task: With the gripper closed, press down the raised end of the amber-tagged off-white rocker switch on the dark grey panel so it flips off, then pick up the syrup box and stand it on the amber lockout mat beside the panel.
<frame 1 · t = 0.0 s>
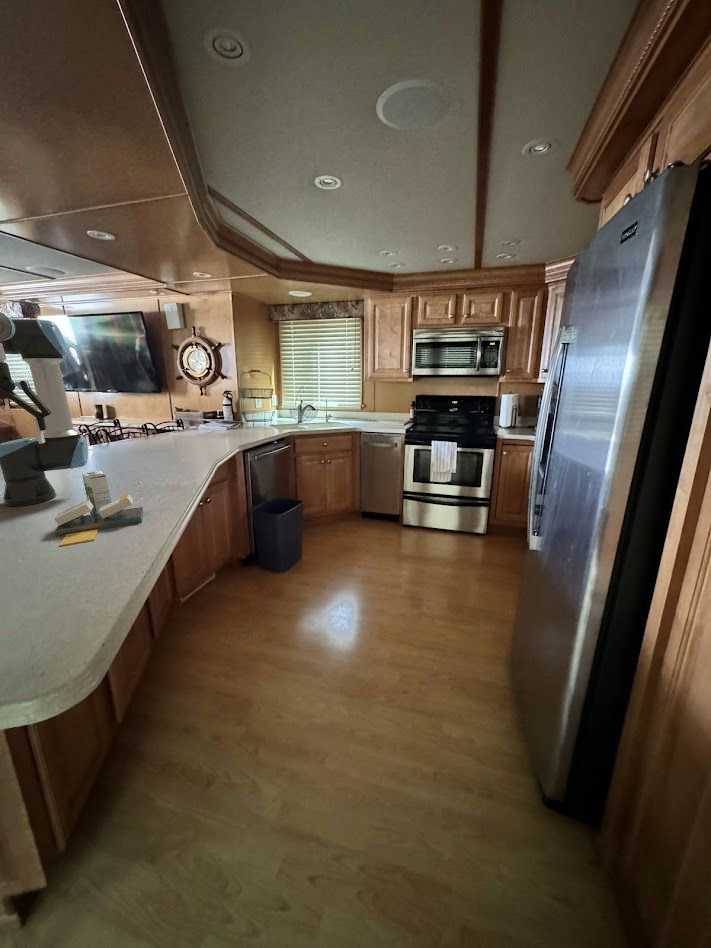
hand: (10, 445, 99), 28 cm above the countertop, fingers open, 13 cm apart
rocker B: (116, 505, 119), point 5 cm above the countertop, hinge at 20.0°
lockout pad: (80, 537, 109), on the countertop
syrup box: (102, 514, 127), on the countertop
rocker A: (74, 512, 115), point 5 cm above the countertop, hinge at 20.0°
breaker panel: (103, 523, 119), on the countertop
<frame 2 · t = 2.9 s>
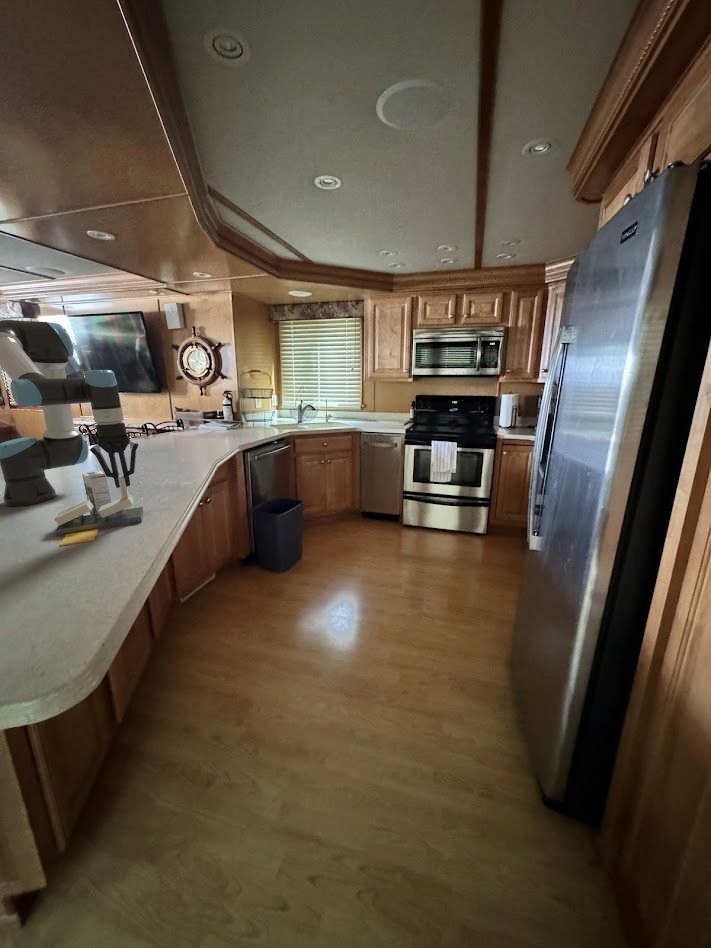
hand: (125, 496, 120), 8 cm above the countertop, fingers closed
rocker B: (116, 505, 119), point 5 cm above the countertop, hinge at 17.1°, touching gripper
everything else where it was.
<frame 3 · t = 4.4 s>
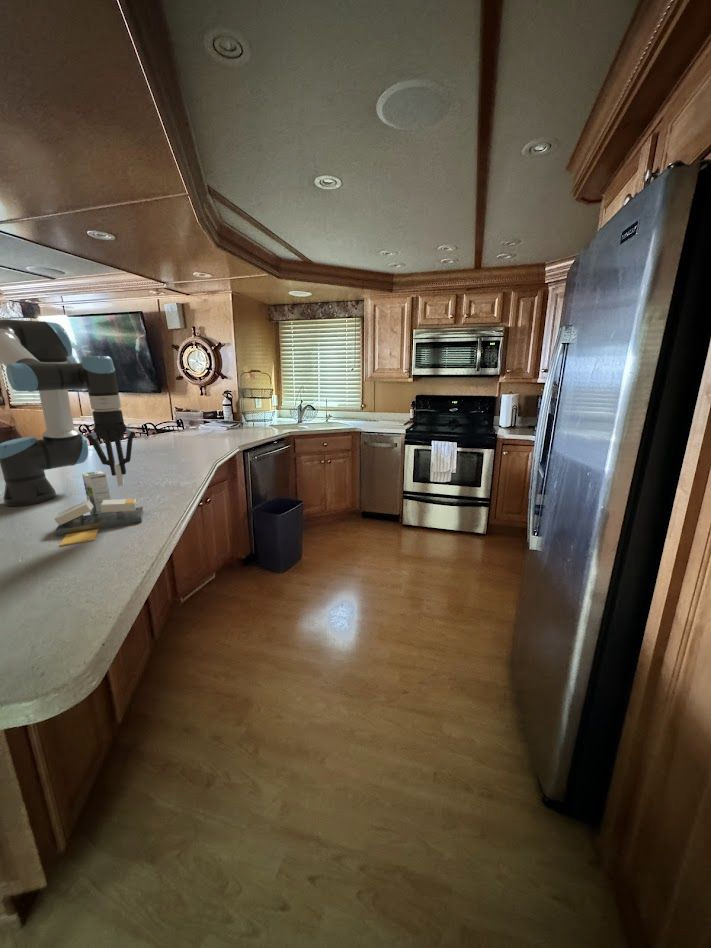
hand: (121, 484, 119), 12 cm above the countertop, fingers closed
rocker B: (119, 505, 120), point 5 cm above the countertop, hinge at -8.1°
everything else where it was.
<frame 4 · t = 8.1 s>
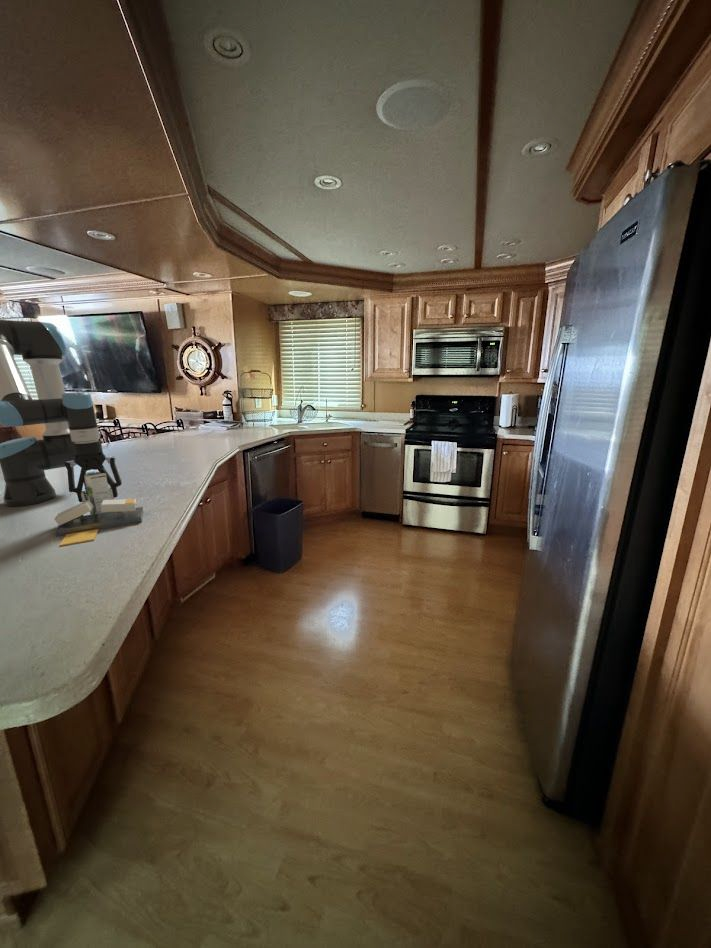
hand: (101, 508, 126), 2 cm above the countertop, fingers closed on syrup box, 7 cm apart
syrup box: (102, 514, 127), on the countertop, touching gripper
everything else where it was.
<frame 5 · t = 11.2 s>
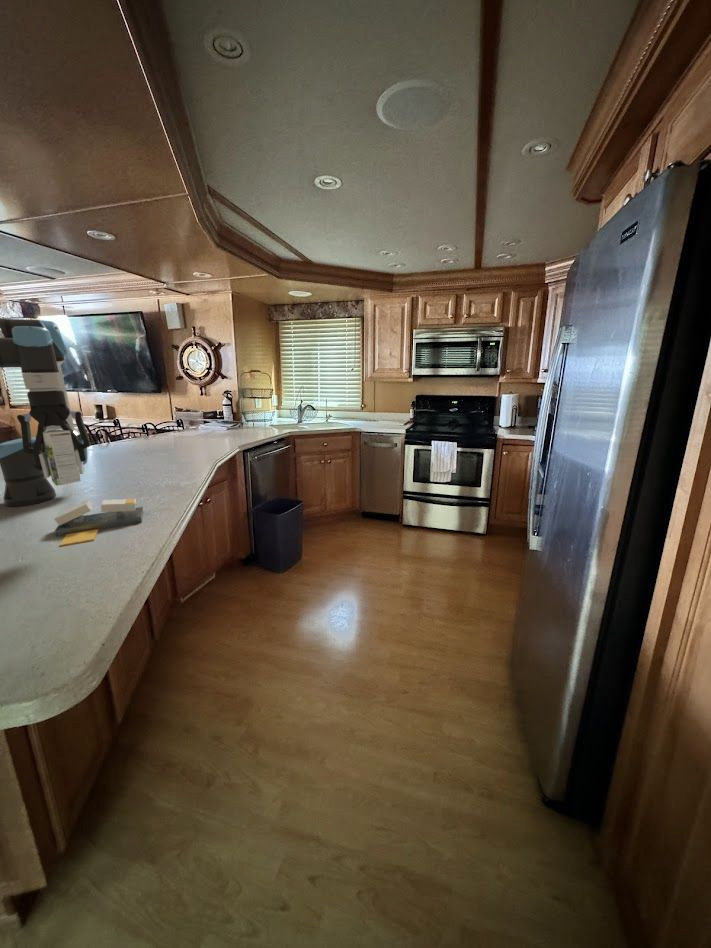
hand: (65, 474, 104), 19 cm above the countertop, fingers closed on syrup box, 7 cm apart
syrup box: (67, 482, 104), point 17 cm above the countertop, touching gripper
everything else where it was.
when the fingers open (4 cm above the countertop, at t = 14.3 s): syrup box drops 1 cm, resting on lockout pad.
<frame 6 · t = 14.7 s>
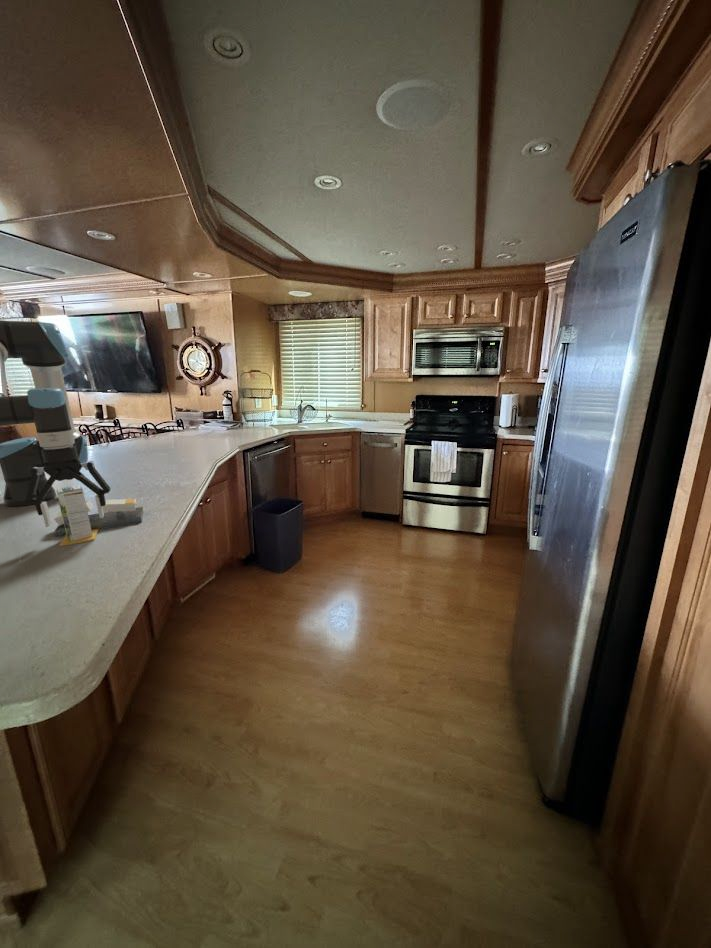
hand: (76, 520, 107), 5 cm above the countertop, fingers open, 12 cm apart
syrup box: (80, 536, 109), resting on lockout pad
everything else where it was.
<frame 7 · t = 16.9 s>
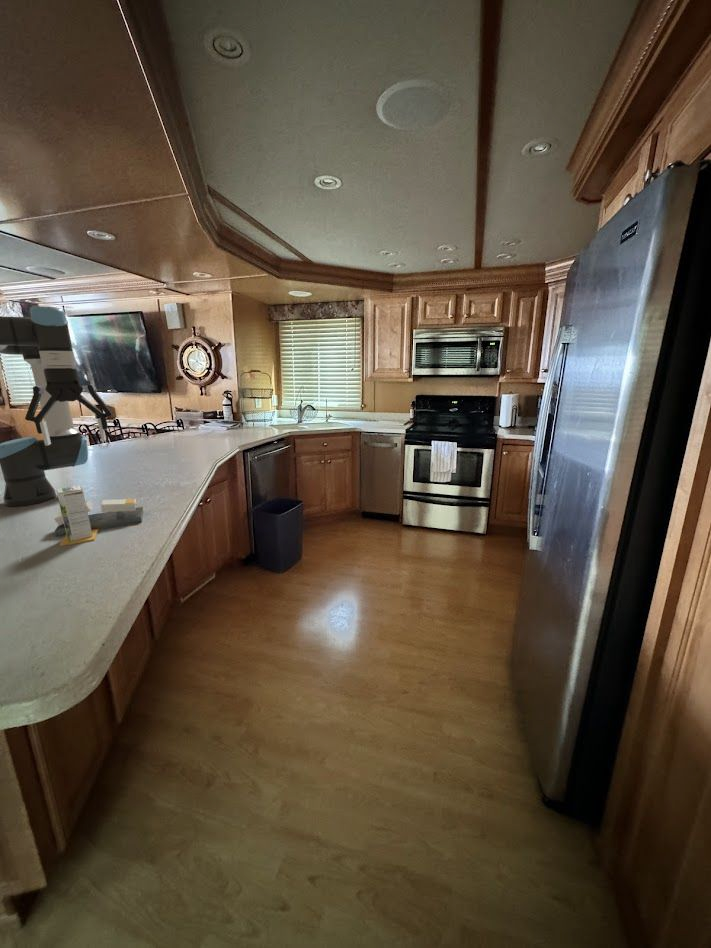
hand: (76, 442, 110), 26 cm above the countertop, fingers open, 13 cm apart
nothing on the countertop moved.
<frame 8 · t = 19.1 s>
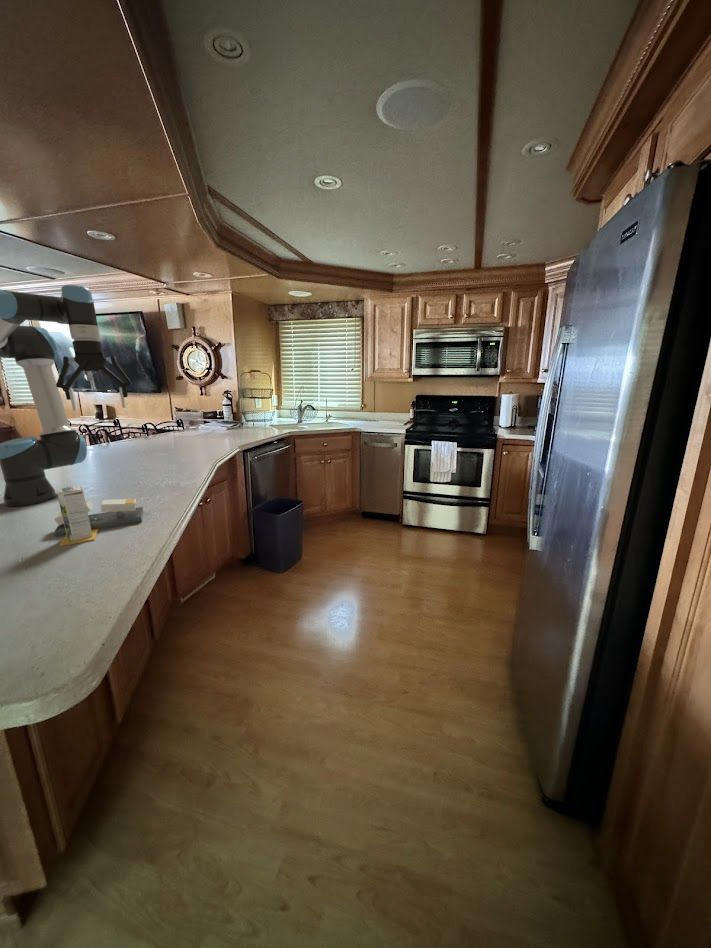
hand: (100, 408, 123), 35 cm above the countertop, fingers open, 13 cm apart
nothing on the countertop moved.
at the end: rocker B at -8° (first picture: +20°); syrup box inside the target area on the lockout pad (0.1 cm from its centre), point 0.2 cm above the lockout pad's base; syrup box tilted 0° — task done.
